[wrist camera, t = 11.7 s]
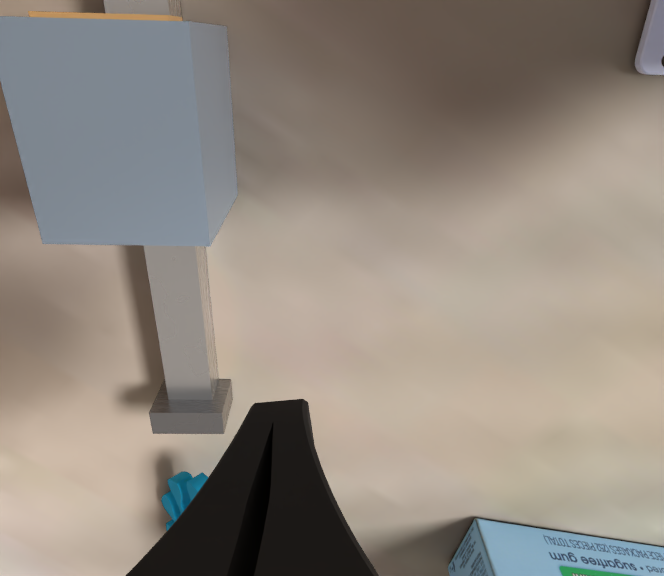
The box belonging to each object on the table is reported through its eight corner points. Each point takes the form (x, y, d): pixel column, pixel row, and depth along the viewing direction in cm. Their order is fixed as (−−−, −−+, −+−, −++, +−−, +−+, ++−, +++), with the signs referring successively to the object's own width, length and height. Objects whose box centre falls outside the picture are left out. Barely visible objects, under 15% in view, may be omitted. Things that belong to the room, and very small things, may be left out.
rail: (179, -209, 14) (154, -253, 12) (232, 399, 24) (223, 433, 22) (67, -214, 14) (22, -258, 12) (167, 398, 24) (152, 433, 22)
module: (226, 21, 17) (188, 14, 12) (237, 194, 20) (210, 246, 15) (80, 17, 17) (-19, 8, 12) (112, 192, 20) (42, 244, 15)
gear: (153, 444, 24) (285, 629, 19) (253, 394, 27) (383, 535, 22) (149, 558, 30) (247, 719, 25) (230, 503, 34) (329, 633, 29)
